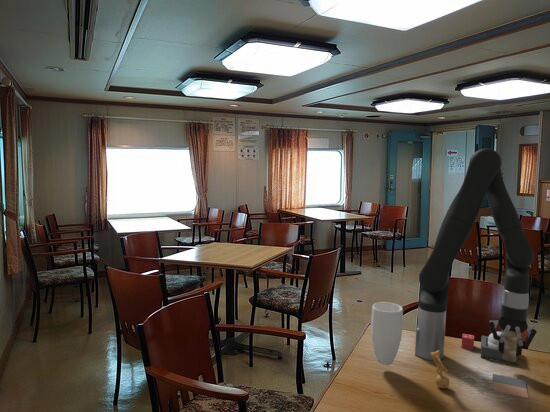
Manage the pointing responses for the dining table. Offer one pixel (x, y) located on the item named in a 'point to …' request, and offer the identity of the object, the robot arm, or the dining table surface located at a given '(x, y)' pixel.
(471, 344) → the red die
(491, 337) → the white ball
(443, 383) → the figurine
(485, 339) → the dark grey square tray
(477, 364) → the dining table surface
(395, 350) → the cup
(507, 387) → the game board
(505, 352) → the wooden pawn
